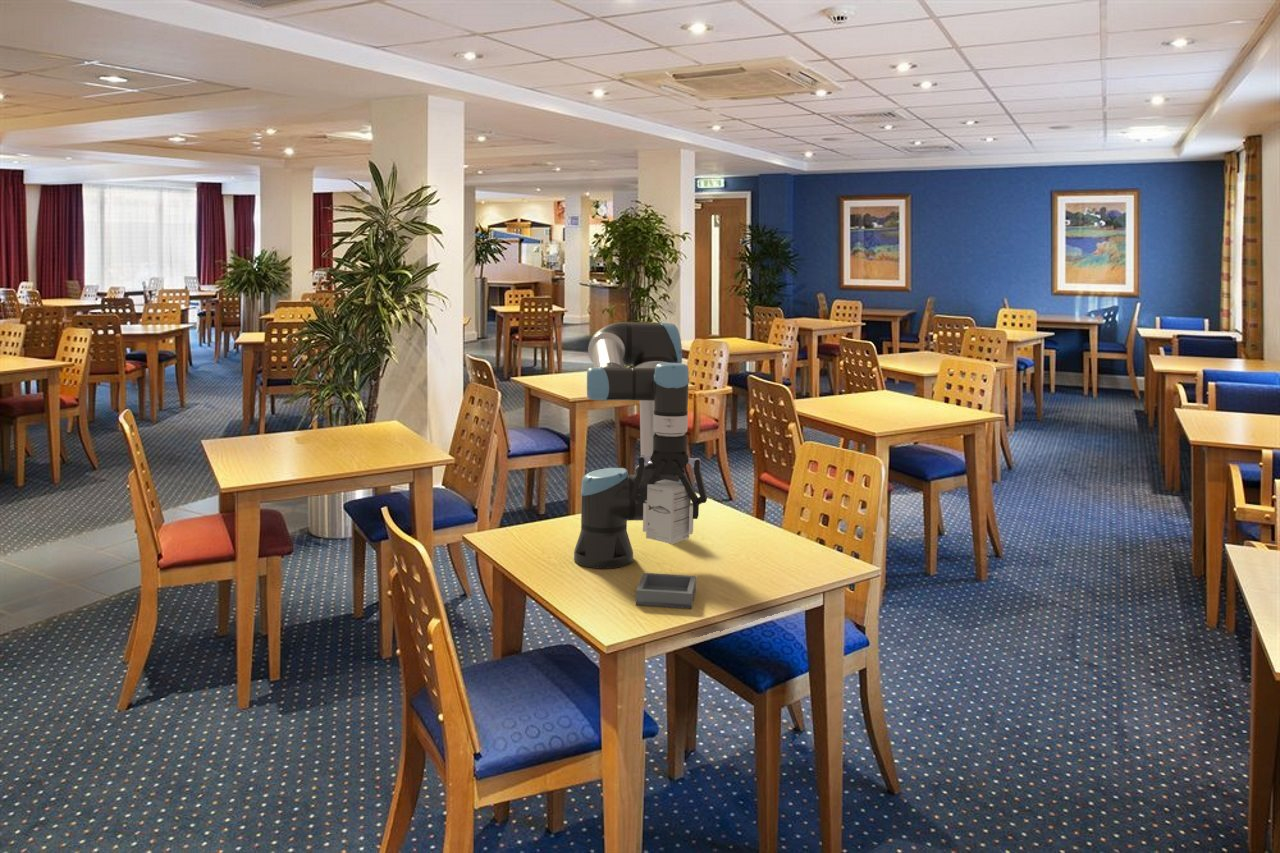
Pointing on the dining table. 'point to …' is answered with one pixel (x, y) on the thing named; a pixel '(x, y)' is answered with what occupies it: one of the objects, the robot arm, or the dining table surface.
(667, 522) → the supplement box
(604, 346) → the robot arm
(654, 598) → the dock tray
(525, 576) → the dining table surface
